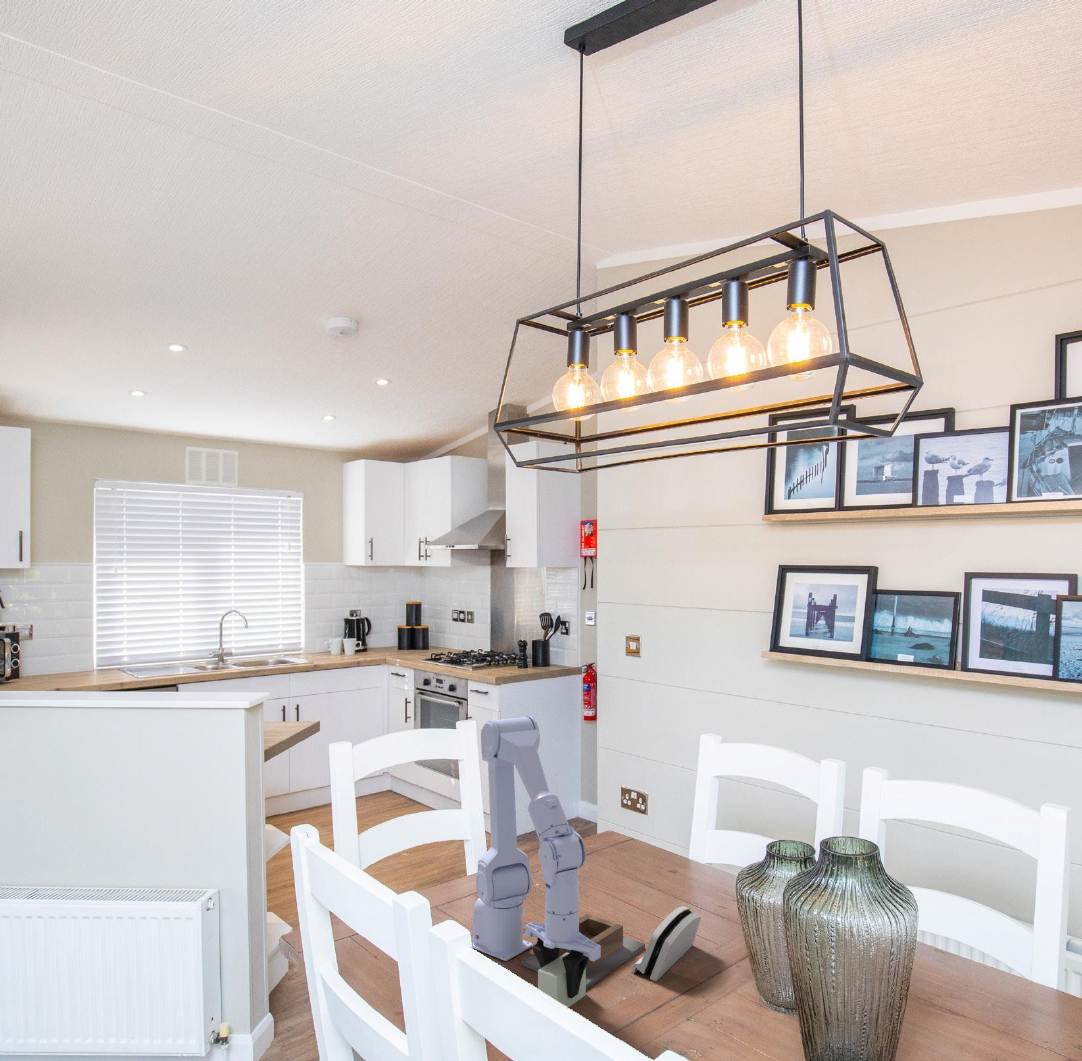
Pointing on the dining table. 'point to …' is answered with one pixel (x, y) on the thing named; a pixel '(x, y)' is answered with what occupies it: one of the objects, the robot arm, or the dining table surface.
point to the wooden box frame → (612, 948)
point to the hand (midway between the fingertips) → (562, 991)
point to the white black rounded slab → (668, 942)
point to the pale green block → (559, 982)
